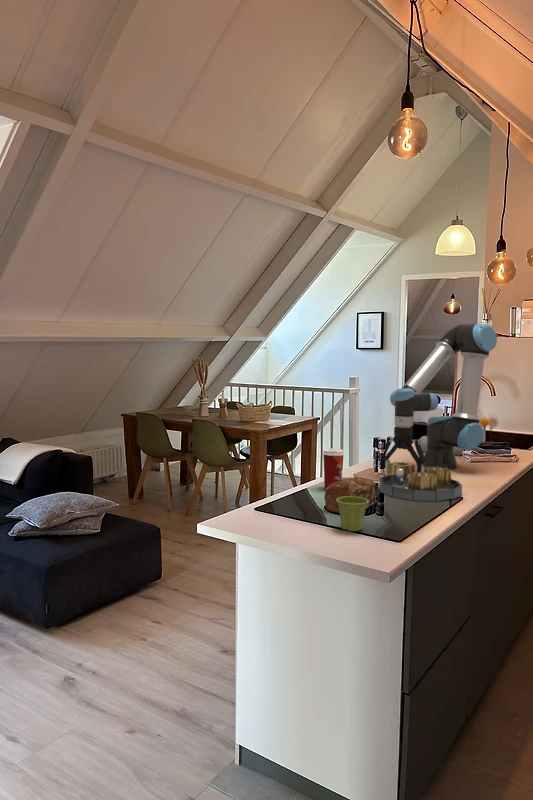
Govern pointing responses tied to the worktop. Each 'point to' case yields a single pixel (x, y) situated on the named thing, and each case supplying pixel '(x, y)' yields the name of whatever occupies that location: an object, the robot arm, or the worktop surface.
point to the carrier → (399, 489)
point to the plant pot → (352, 512)
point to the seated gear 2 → (440, 475)
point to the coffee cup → (332, 466)
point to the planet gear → (406, 466)
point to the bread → (350, 491)
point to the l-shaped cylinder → (424, 446)
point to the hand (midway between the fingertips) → (401, 478)
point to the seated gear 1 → (422, 481)
